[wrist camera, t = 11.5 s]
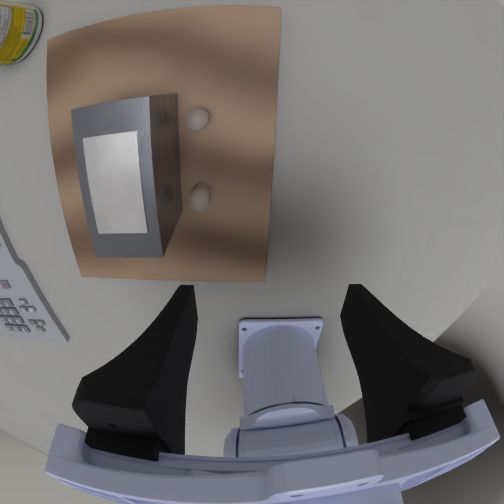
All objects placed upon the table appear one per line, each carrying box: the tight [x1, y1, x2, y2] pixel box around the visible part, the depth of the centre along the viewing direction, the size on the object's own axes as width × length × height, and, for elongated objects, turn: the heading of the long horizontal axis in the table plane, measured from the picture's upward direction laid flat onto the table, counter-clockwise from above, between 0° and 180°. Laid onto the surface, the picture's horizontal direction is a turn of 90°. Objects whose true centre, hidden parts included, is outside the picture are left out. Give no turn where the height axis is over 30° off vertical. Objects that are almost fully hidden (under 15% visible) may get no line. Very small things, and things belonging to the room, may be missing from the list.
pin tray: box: [47, 5, 281, 282], centre depth 17 cm, size 20×16×3 cm
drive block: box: [71, 93, 183, 258], centre depth 15 cm, size 8×4×6 cm, turn 178°
